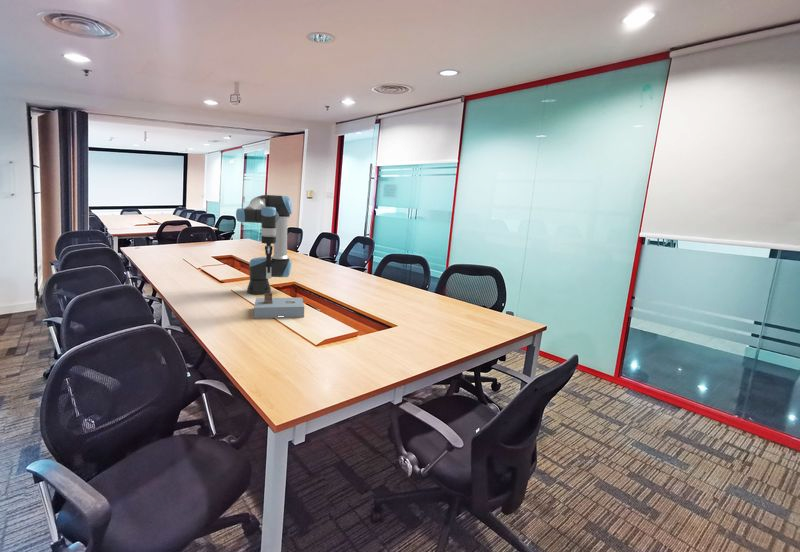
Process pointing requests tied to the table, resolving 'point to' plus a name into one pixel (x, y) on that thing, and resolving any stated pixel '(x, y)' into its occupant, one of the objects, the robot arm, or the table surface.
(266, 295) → the dark peg
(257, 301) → the socket block
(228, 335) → the table surface
